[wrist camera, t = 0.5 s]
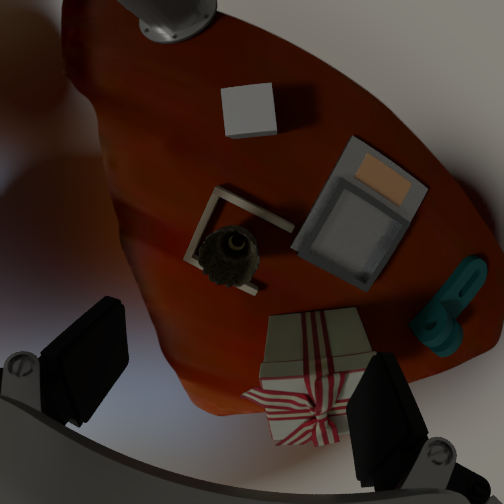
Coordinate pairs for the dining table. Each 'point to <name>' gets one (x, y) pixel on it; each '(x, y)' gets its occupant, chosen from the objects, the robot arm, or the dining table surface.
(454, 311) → the bracket
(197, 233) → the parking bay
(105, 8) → the dining table surface
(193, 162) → the dining table surface
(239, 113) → the white cube
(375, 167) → the grey flat rectangular tray
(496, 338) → the dining table surface
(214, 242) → the cup
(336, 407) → the gift box
